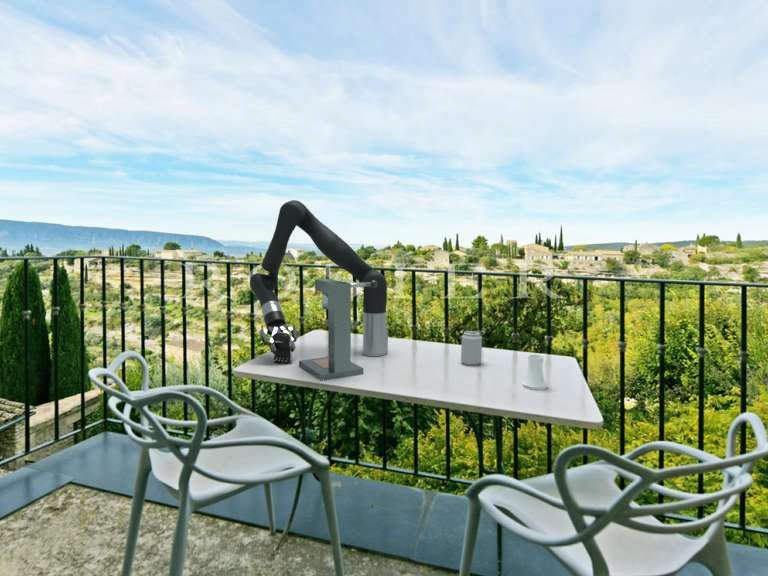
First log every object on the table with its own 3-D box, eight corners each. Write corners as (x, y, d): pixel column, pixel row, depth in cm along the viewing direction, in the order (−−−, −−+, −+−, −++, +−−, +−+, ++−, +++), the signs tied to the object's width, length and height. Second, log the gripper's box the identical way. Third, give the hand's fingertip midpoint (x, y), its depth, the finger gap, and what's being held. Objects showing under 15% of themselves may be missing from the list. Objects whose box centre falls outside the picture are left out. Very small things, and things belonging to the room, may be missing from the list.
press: (363, 356, 193) (364, 276, 189) (390, 369, 176) (391, 281, 172) (298, 366, 179) (297, 279, 176) (320, 380, 162) (320, 284, 159)
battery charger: (271, 363, 183) (270, 333, 181) (276, 360, 186) (275, 331, 185) (287, 365, 180) (286, 335, 179) (292, 362, 184) (291, 332, 182)
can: (483, 362, 187) (484, 331, 186) (478, 367, 180) (479, 335, 179) (464, 360, 190) (464, 329, 189) (458, 364, 183) (459, 333, 182)
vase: (541, 382, 163) (543, 353, 162) (550, 390, 155) (551, 359, 154) (519, 382, 162) (520, 353, 161) (526, 390, 155) (527, 359, 154)
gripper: (256, 311, 183) (267, 348, 175) (293, 308, 191) (305, 344, 182) (253, 322, 188) (263, 359, 180) (288, 319, 196) (300, 354, 187)
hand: (284, 351), depth 181 cm, fingers closed on battery charger, 6 cm apart
